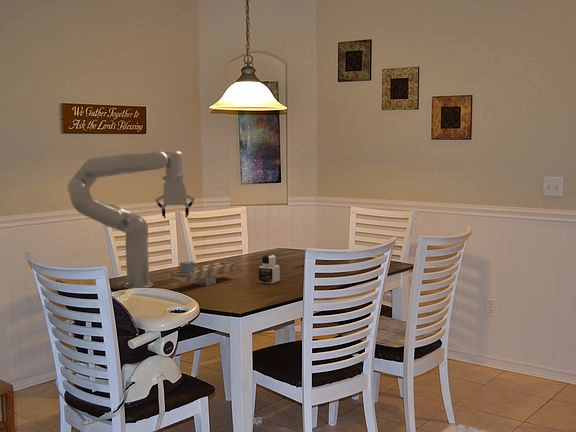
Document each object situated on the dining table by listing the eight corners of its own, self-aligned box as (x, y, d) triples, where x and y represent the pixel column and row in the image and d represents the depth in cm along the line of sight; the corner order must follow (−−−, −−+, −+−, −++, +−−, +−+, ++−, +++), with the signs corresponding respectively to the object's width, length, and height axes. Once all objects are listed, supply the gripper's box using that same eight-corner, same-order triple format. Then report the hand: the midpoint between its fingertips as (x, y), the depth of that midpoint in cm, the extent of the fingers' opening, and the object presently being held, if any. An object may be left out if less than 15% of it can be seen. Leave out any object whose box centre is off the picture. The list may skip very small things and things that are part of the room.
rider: (187, 275, 307) (187, 263, 306) (180, 273, 310) (179, 262, 309) (195, 273, 310) (194, 262, 310) (188, 272, 313) (187, 261, 312)
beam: (183, 282, 303) (183, 274, 303) (171, 280, 308) (171, 272, 308) (235, 270, 328) (235, 262, 327) (223, 268, 333) (223, 260, 332)
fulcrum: (206, 286, 313) (206, 277, 313) (193, 283, 318) (193, 275, 318) (216, 283, 318) (215, 274, 317) (203, 281, 323) (203, 272, 323)
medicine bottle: (258, 282, 319) (258, 256, 318) (266, 279, 325) (265, 253, 324) (272, 283, 316) (272, 257, 314) (280, 280, 322) (279, 254, 320)
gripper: (154, 180, 309) (155, 219, 311) (194, 179, 312) (195, 217, 314) (154, 178, 316) (155, 217, 318) (193, 178, 319) (194, 216, 321)
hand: (175, 217), depth 316 cm, fingers open, 9 cm apart
